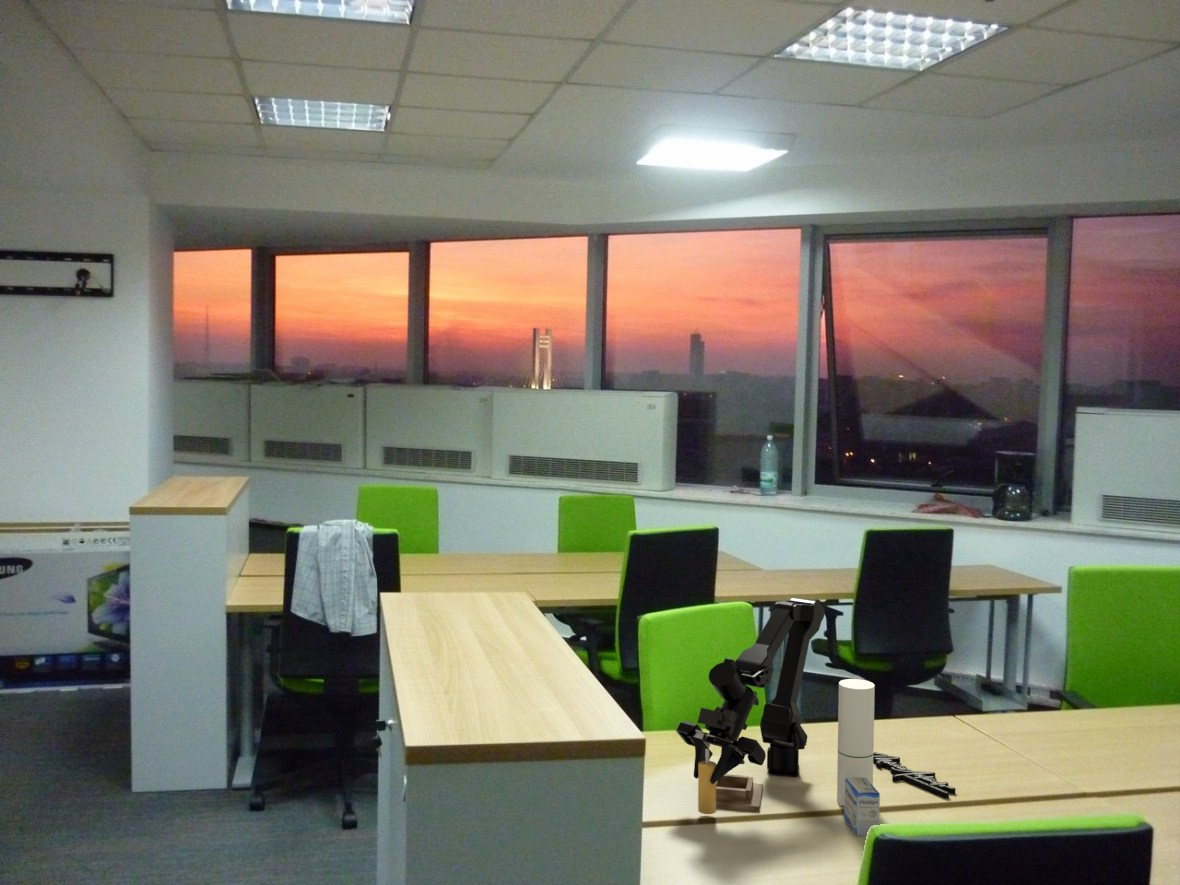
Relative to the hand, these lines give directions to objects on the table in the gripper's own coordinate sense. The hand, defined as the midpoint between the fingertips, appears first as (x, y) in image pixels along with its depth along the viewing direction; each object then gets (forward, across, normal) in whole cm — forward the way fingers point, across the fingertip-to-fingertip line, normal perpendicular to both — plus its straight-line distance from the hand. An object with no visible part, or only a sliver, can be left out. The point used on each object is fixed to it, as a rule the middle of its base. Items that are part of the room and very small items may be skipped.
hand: (703, 780), depth 207 cm
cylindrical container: (-14, +19, +25) cm, 34 cm away
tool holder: (-4, -2, +15) cm, 15 cm away
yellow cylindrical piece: (+4, 0, +6) cm, 7 cm away
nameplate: (-28, +20, +40) cm, 53 cm away
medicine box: (-6, +26, +18) cm, 32 cm away
